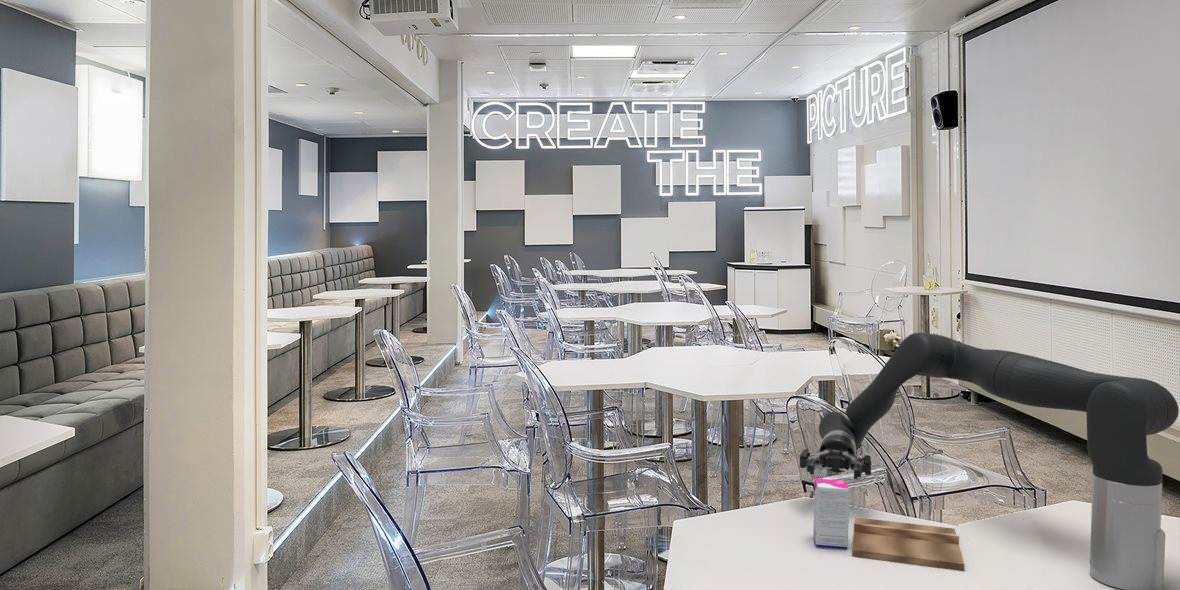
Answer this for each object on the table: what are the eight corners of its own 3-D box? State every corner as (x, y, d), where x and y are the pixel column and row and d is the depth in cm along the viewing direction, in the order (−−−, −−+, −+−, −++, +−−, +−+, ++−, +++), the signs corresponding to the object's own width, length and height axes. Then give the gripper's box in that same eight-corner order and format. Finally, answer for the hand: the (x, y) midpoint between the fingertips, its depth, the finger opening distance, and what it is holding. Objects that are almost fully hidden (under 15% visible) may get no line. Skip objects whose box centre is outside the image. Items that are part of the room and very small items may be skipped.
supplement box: (849, 550, 135) (849, 488, 134) (815, 548, 136) (816, 487, 135) (844, 538, 140) (845, 479, 140) (812, 536, 142) (813, 477, 141)
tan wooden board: (954, 534, 141) (954, 520, 141) (964, 571, 126) (964, 555, 125) (854, 523, 148) (855, 509, 148) (852, 556, 132) (852, 541, 132)
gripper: (804, 431, 167) (797, 450, 151) (872, 436, 161) (871, 457, 146) (804, 463, 167) (796, 486, 152) (871, 470, 162) (870, 494, 147)
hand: (833, 472), depth 149 cm, fingers open, 8 cm apart
